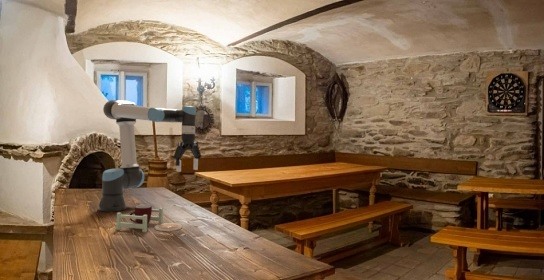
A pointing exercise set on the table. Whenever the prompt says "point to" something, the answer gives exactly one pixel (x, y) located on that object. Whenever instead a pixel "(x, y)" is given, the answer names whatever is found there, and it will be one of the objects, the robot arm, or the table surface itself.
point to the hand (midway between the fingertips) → (187, 170)
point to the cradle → (144, 217)
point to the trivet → (168, 227)
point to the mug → (142, 213)
